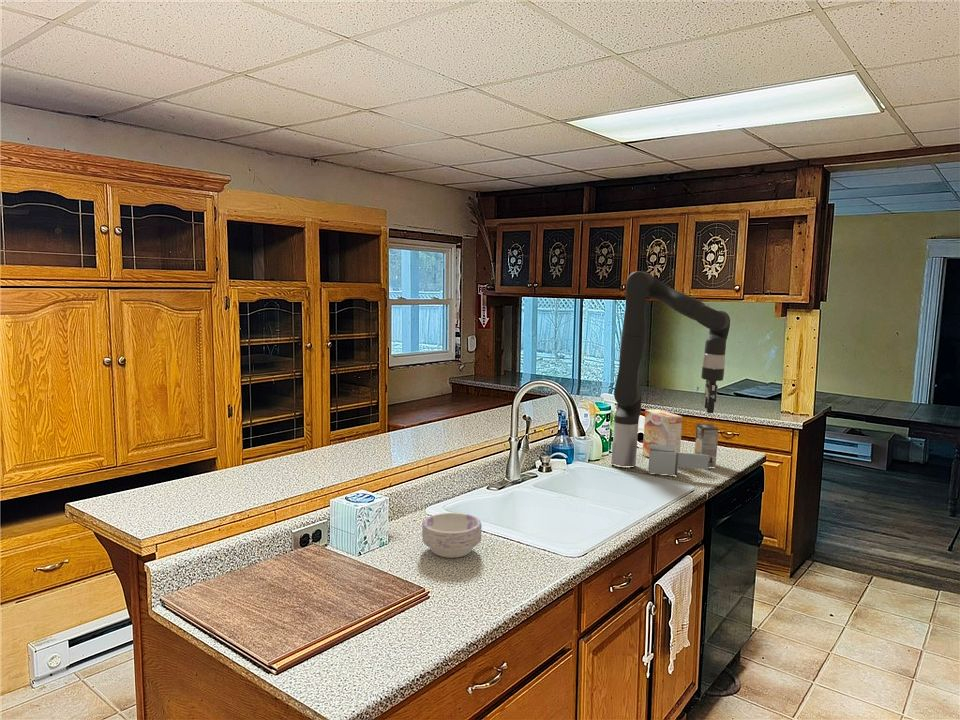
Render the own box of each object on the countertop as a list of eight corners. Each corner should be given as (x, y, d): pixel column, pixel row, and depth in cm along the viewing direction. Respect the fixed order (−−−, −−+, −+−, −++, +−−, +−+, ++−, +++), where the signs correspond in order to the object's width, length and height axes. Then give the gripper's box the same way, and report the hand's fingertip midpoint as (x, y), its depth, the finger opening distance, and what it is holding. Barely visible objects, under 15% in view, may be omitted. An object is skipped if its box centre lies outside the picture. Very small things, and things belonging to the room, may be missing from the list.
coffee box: (693, 461, 270) (695, 423, 268) (708, 462, 270) (711, 423, 268) (699, 468, 261) (703, 428, 259) (716, 468, 261) (719, 428, 259)
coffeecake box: (641, 455, 277) (644, 409, 275) (655, 454, 280) (658, 408, 278) (665, 465, 264) (669, 416, 261) (679, 463, 267) (683, 415, 264)
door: (648, 474, 249) (650, 450, 248) (648, 473, 250) (650, 449, 249) (706, 480, 244) (708, 455, 243) (706, 479, 245) (708, 455, 244)
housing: (648, 474, 250) (649, 449, 249) (648, 467, 259) (650, 443, 258) (673, 476, 248) (675, 451, 247) (672, 470, 257) (674, 446, 256)
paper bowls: (414, 543, 177) (415, 514, 176) (468, 537, 182) (469, 509, 181) (431, 566, 163) (432, 535, 162) (489, 559, 168) (490, 529, 167)
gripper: (700, 363, 247) (696, 406, 249) (704, 368, 233) (699, 413, 235) (722, 365, 246) (717, 408, 248) (726, 369, 232) (722, 415, 234)
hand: (708, 410), depth 242 cm, fingers open, 8 cm apart
